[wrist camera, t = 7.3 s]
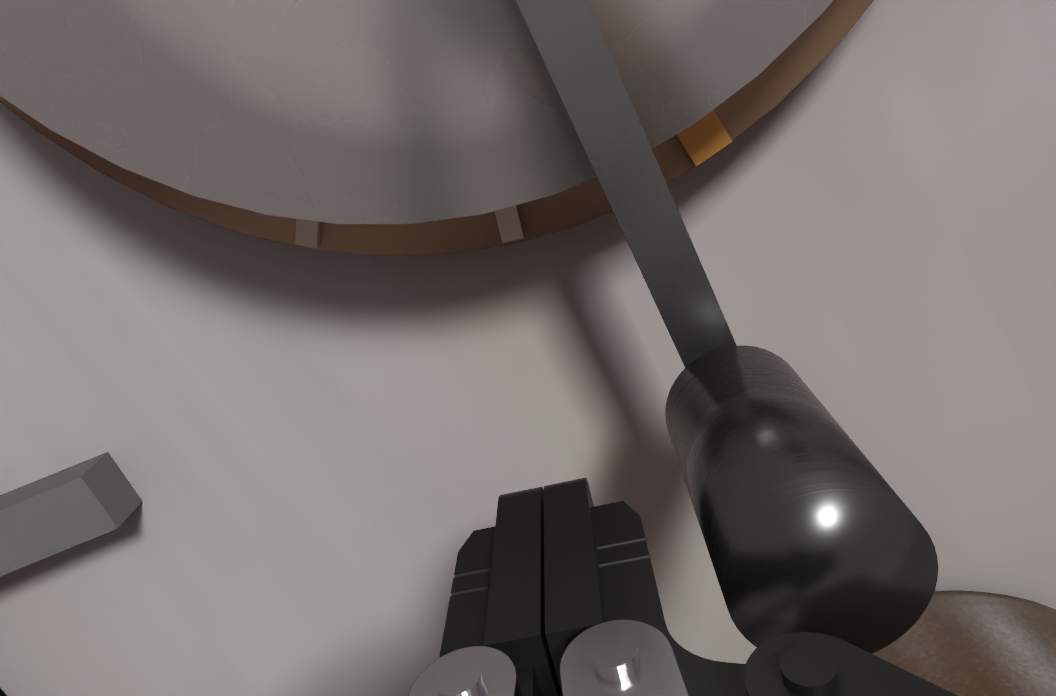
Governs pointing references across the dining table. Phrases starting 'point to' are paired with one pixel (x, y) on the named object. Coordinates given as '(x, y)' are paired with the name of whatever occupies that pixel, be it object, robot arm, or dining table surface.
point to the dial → (499, 182)
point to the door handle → (63, 512)
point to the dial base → (523, 217)
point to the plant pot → (981, 645)
